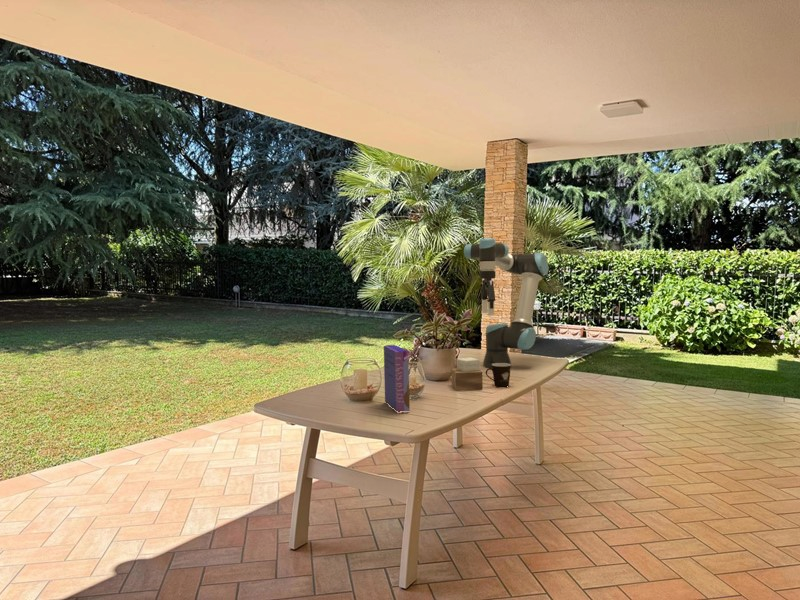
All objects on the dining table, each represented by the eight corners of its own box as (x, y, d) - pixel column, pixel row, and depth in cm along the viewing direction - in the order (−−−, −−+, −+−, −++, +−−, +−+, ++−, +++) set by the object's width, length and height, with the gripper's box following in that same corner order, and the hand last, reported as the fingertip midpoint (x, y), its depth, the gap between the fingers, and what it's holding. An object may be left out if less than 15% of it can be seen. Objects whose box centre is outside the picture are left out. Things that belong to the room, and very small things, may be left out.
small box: (471, 367, 260) (471, 357, 259) (479, 370, 252) (479, 359, 252) (456, 369, 257) (456, 358, 257) (463, 372, 250) (463, 360, 249)
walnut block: (451, 385, 260) (451, 368, 260) (477, 384, 261) (476, 367, 261) (456, 390, 248) (455, 373, 248) (482, 389, 249) (482, 372, 249)
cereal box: (409, 412, 214) (408, 350, 213) (397, 413, 213) (396, 351, 211) (396, 402, 231) (394, 344, 229) (385, 403, 229) (383, 345, 228)
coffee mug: (510, 384, 260) (509, 362, 259) (512, 388, 251) (511, 366, 251) (484, 384, 261) (484, 363, 260) (485, 388, 252) (485, 366, 252)
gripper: (474, 270, 281) (475, 312, 283) (485, 270, 257) (486, 316, 258) (489, 270, 282) (489, 311, 283) (501, 270, 257) (502, 316, 258)
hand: (488, 314), depth 271 cm, fingers open, 13 cm apart
